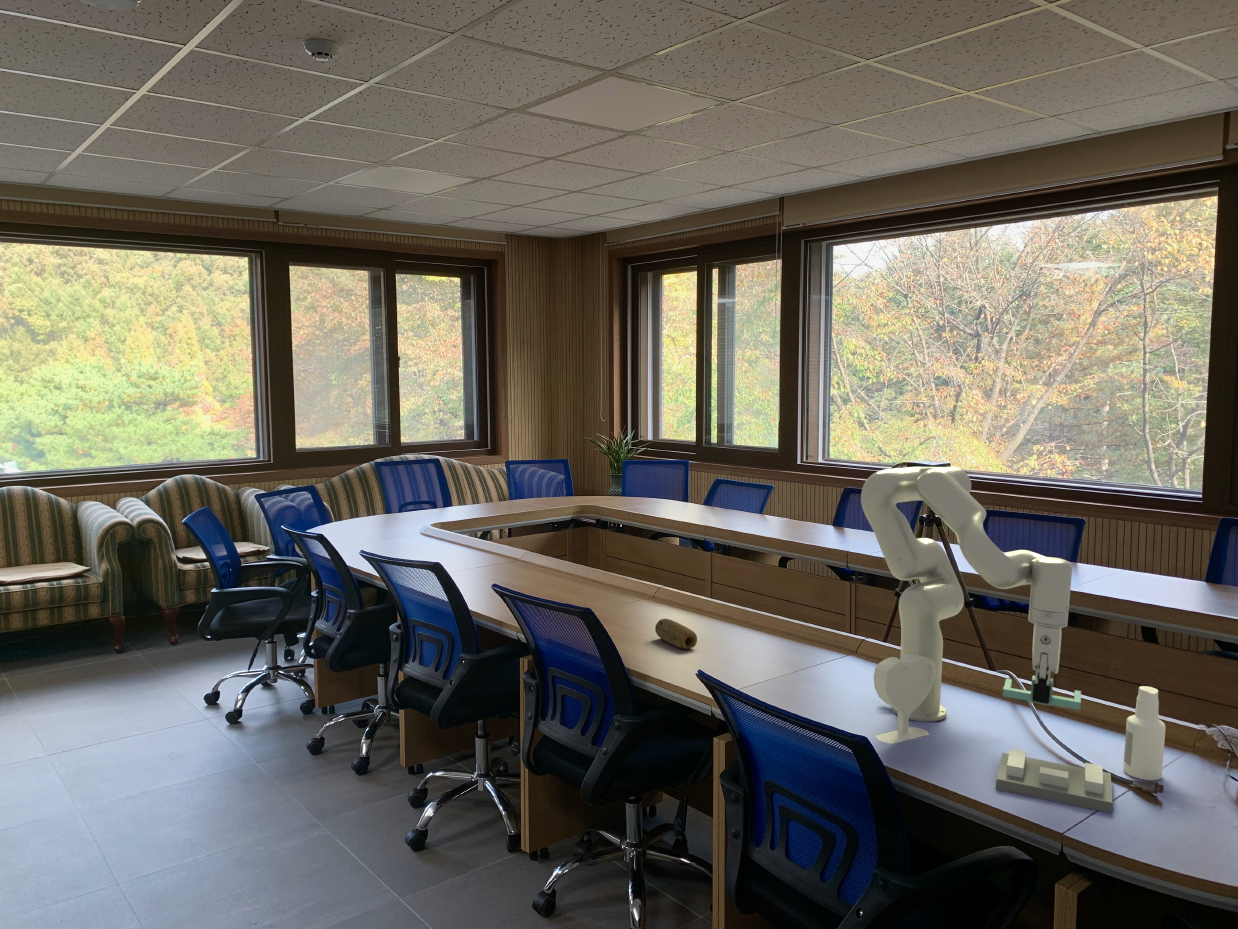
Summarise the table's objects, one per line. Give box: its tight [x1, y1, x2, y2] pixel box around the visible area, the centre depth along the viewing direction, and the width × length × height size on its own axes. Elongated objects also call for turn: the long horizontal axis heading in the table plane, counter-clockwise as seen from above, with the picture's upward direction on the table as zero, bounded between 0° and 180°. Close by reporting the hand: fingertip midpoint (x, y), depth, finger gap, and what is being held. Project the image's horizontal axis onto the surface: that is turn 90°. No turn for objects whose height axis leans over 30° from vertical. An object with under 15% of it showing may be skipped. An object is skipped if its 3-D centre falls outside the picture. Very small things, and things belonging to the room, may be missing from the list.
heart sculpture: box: [873, 654, 936, 745], centre depth 198 cm, size 16×5×18 cm, turn 118°
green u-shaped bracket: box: [1002, 675, 1082, 711], centre depth 191 cm, size 15×10×5 cm, turn 62°
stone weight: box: [654, 618, 698, 650], centre depth 264 cm, size 15×7×7 cm, turn 36°
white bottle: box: [1122, 685, 1167, 782], centre depth 180 cm, size 7×7×18 cm
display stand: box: [995, 747, 1113, 814], centre depth 175 cm, size 20×14×4 cm
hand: (1041, 698), depth 189 cm, fingers closed on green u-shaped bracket, 2 cm apart
